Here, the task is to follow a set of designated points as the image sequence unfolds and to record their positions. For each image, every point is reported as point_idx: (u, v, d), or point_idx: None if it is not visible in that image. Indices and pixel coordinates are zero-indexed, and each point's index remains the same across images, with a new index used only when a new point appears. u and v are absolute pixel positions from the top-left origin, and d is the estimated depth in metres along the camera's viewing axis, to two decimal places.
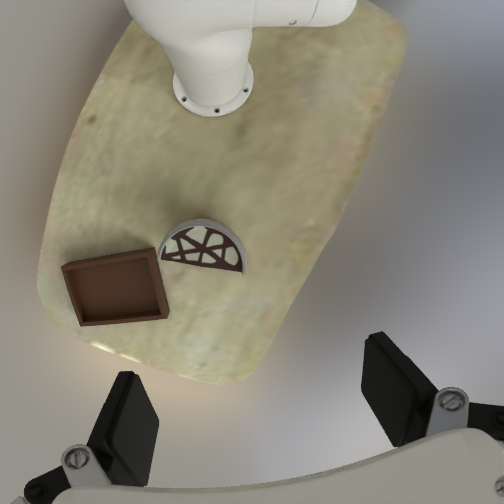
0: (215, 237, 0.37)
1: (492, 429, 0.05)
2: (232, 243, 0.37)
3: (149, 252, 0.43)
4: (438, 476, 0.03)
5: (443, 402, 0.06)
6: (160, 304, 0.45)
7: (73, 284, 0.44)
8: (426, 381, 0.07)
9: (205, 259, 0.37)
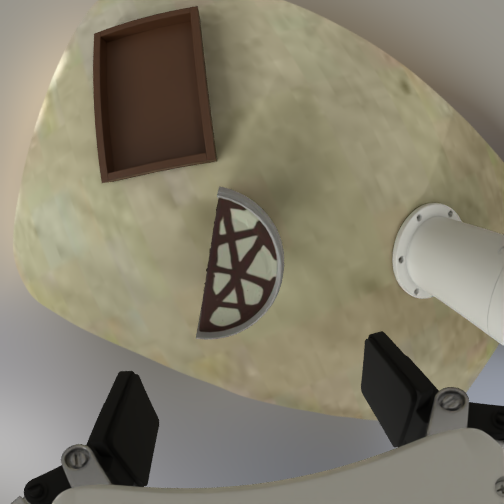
0: (256, 293, 0.23)
1: (492, 429, 0.05)
2: (246, 318, 0.23)
3: (214, 157, 0.26)
4: (438, 476, 0.03)
5: (443, 402, 0.06)
6: (124, 172, 0.25)
7: (164, 23, 0.22)
8: (426, 381, 0.07)
9: (219, 278, 0.22)
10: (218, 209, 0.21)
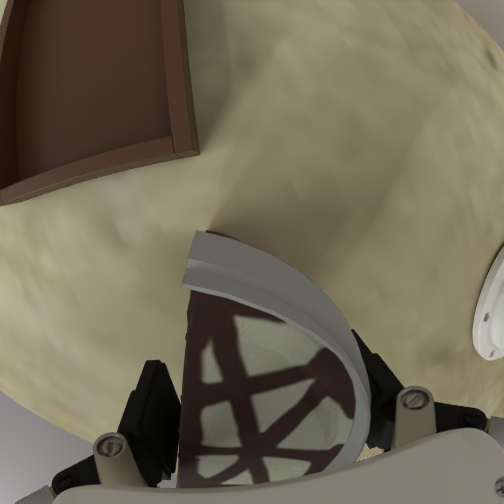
0: (295, 470, 0.08)
1: None
2: None
3: (189, 145, 0.11)
4: (438, 476, 0.03)
5: (406, 402, 0.07)
6: (22, 186, 0.11)
7: None
8: (389, 379, 0.08)
9: (212, 462, 0.07)
10: (193, 317, 0.06)
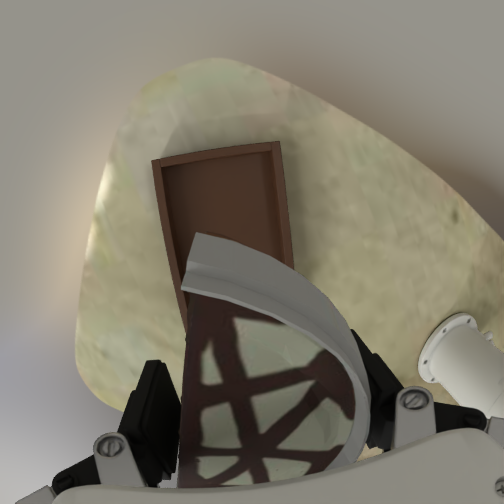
0: (295, 470, 0.08)
1: None
2: None
3: None
4: (438, 476, 0.03)
5: (406, 402, 0.07)
6: None
7: (238, 155, 0.26)
8: (389, 379, 0.08)
9: (212, 462, 0.07)
10: (193, 319, 0.06)
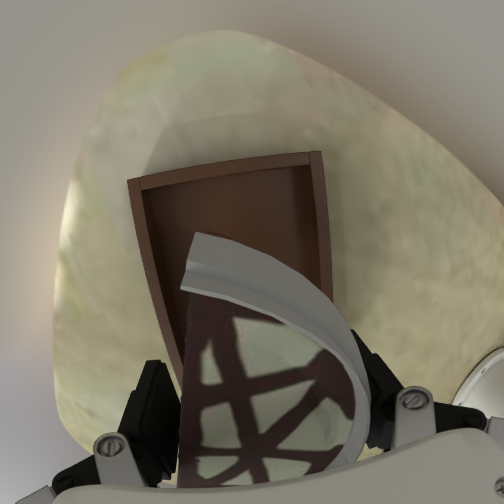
0: (295, 470, 0.08)
1: None
2: None
3: None
4: (438, 476, 0.03)
5: (406, 402, 0.07)
6: None
7: None
8: (389, 379, 0.08)
9: (212, 462, 0.07)
10: (192, 319, 0.06)
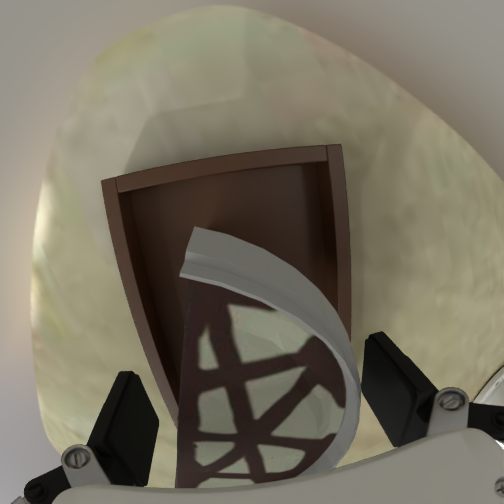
0: (290, 459, 0.08)
1: (492, 429, 0.05)
2: None
3: None
4: (438, 476, 0.03)
5: (443, 402, 0.06)
6: None
7: None
8: (426, 381, 0.07)
9: (209, 448, 0.08)
10: (191, 306, 0.06)
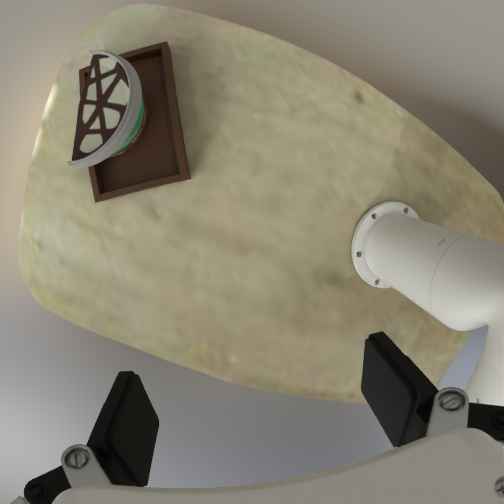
0: (114, 118, 0.22)
1: (492, 429, 0.05)
2: (106, 141, 0.22)
3: (186, 177, 0.31)
4: (438, 476, 0.03)
5: (443, 402, 0.06)
6: (113, 193, 0.30)
7: (139, 58, 0.27)
8: (426, 381, 0.07)
9: (87, 108, 0.21)
10: (91, 62, 0.20)
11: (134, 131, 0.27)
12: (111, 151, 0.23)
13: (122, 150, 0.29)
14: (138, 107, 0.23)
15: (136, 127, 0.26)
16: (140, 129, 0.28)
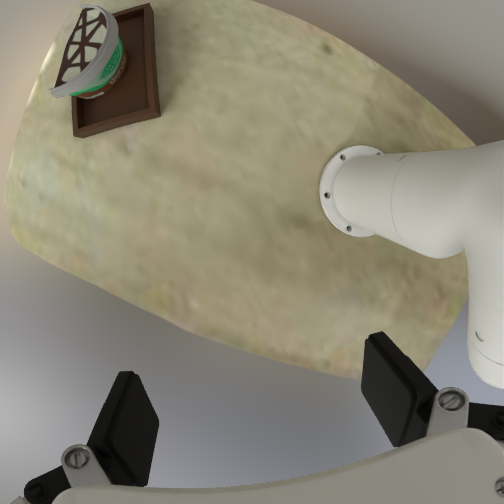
0: (92, 53, 0.21)
1: (492, 429, 0.05)
2: None
3: (154, 111, 0.30)
4: (438, 476, 0.03)
5: (443, 402, 0.06)
6: (90, 127, 0.30)
7: (125, 17, 0.27)
8: (426, 381, 0.07)
9: (72, 48, 0.21)
10: (80, 14, 0.19)
11: (111, 70, 0.26)
12: (86, 80, 0.23)
13: (101, 89, 0.28)
14: (113, 45, 0.22)
15: (113, 67, 0.26)
16: (118, 71, 0.28)
